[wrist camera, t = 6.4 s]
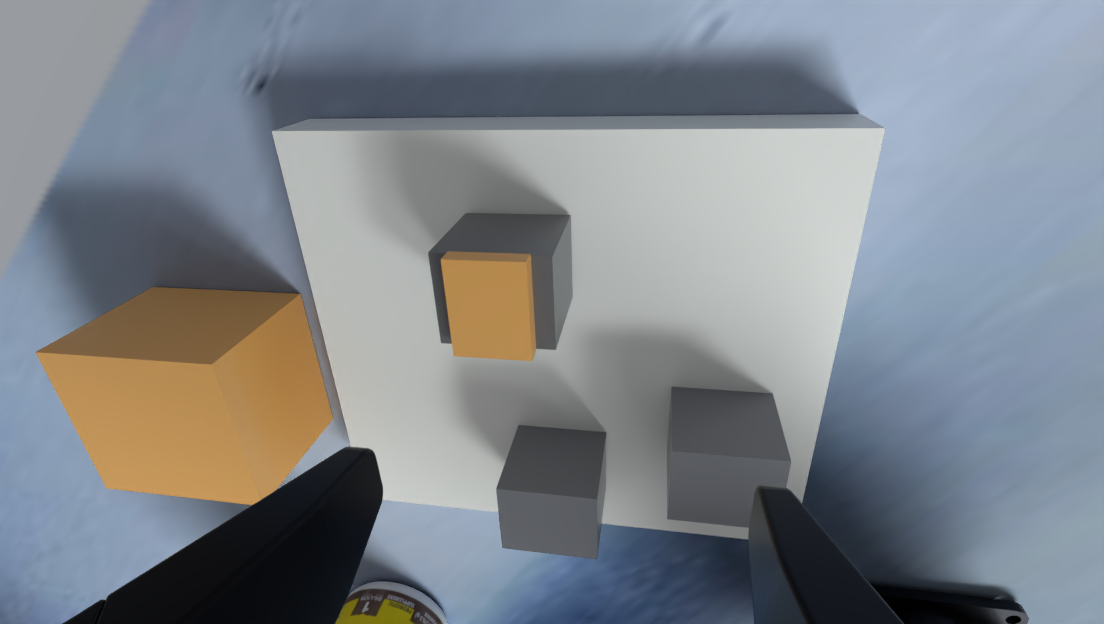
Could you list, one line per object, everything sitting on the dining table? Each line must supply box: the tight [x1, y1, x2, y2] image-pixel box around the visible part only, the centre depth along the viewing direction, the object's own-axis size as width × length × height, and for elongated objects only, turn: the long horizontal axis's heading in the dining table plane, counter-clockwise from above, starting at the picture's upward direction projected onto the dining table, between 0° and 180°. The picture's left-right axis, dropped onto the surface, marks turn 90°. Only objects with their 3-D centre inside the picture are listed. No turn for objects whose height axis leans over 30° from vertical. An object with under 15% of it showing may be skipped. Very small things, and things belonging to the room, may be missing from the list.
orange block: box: [36, 287, 333, 505], centre depth 21 cm, size 6×6×5 cm
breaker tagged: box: [428, 213, 573, 361], centre depth 15 cm, size 3×3×4 cm
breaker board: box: [272, 114, 885, 559], centre depth 18 cm, size 16×14×5 cm
